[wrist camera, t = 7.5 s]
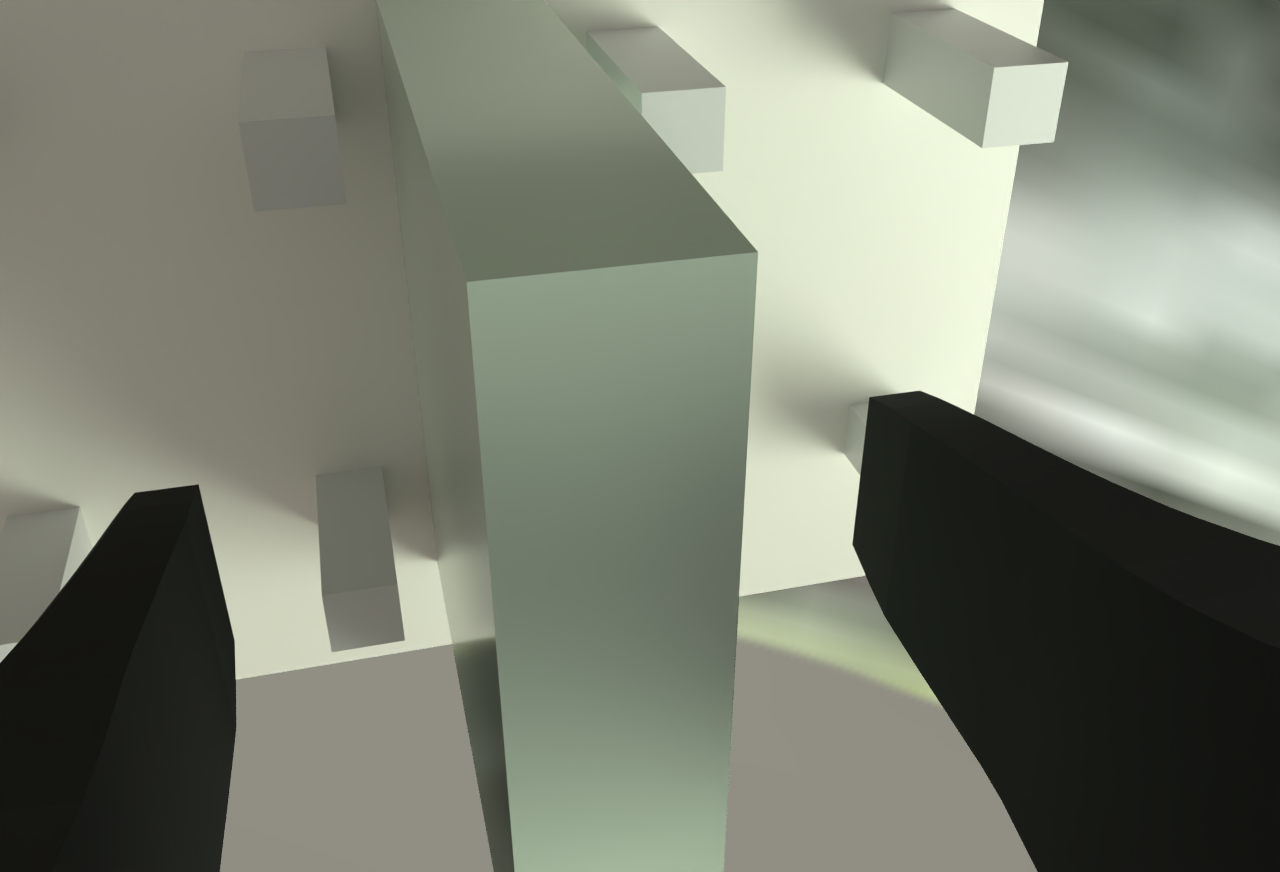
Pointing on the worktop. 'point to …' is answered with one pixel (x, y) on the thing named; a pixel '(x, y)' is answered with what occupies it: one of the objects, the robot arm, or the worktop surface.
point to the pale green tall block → (574, 435)
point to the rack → (377, 290)
